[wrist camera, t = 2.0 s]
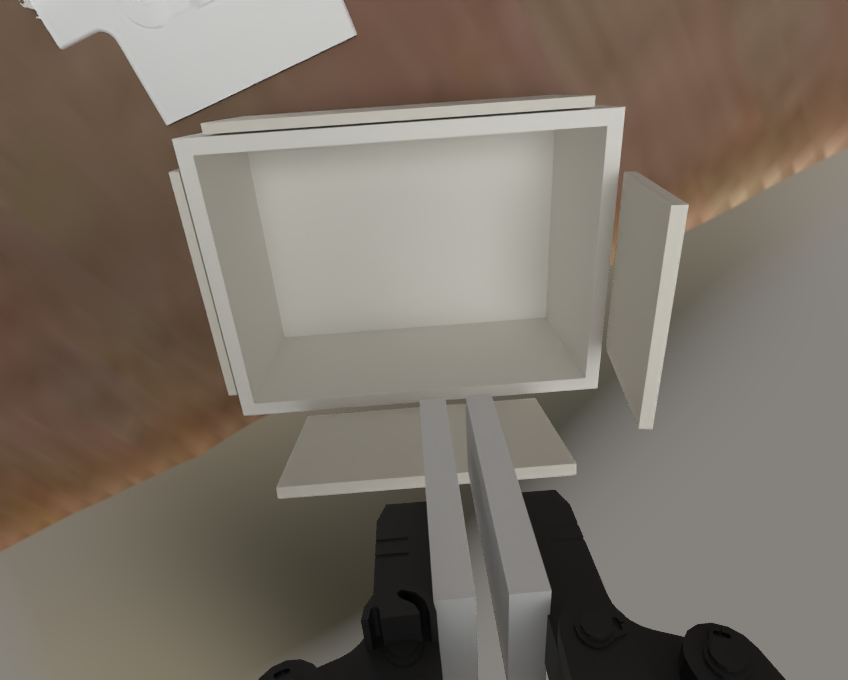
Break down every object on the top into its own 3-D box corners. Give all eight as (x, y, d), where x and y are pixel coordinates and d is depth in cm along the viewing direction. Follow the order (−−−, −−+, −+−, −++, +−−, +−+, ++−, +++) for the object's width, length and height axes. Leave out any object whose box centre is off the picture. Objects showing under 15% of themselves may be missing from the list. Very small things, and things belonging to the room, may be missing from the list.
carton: (270, 345, 41) (234, 417, 32) (220, 116, 33) (155, 126, 24) (553, 324, 41) (597, 389, 32) (565, 92, 34) (626, 93, 25)
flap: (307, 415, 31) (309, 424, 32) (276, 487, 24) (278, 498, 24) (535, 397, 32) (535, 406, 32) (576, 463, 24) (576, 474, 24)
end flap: (638, 428, 23) (652, 429, 23) (671, 205, 19) (688, 204, 19) (605, 348, 30) (616, 347, 30) (624, 172, 26) (636, 171, 26)
